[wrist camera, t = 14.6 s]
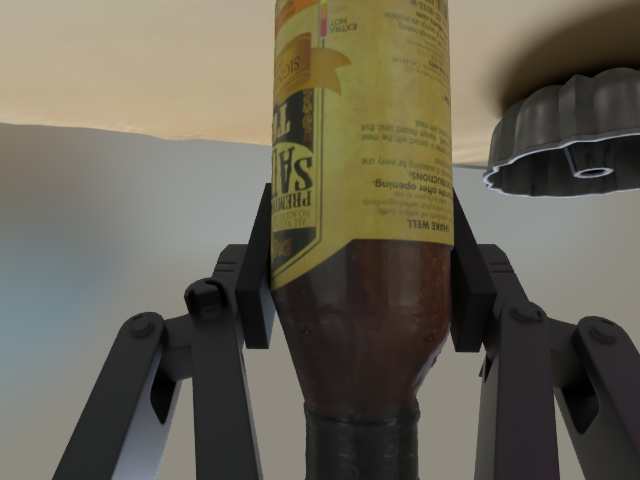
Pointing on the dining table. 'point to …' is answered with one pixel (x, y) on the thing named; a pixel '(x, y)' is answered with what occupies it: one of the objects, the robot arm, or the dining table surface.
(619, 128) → the bundt pan
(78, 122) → the dining table surface
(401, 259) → the sauce bottle
